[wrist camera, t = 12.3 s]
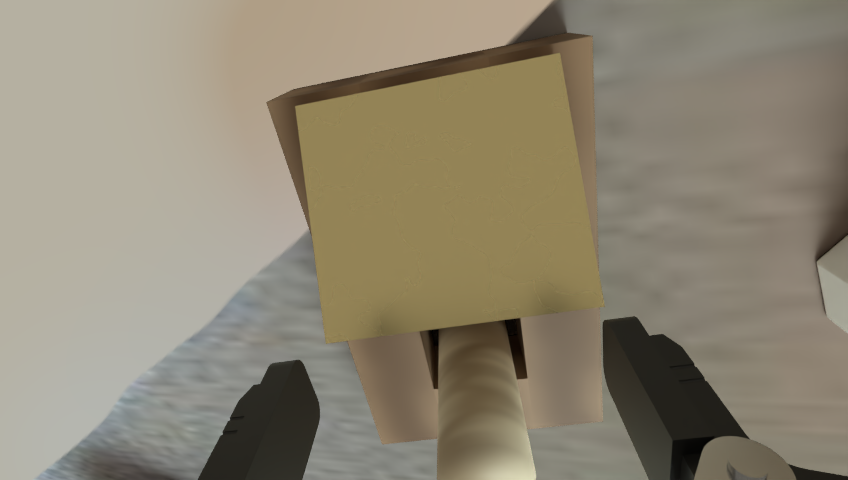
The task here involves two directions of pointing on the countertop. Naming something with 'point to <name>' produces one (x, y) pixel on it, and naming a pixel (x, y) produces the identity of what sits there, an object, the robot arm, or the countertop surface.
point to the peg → (480, 407)
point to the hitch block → (537, 335)
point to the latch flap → (448, 202)
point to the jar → (835, 283)
